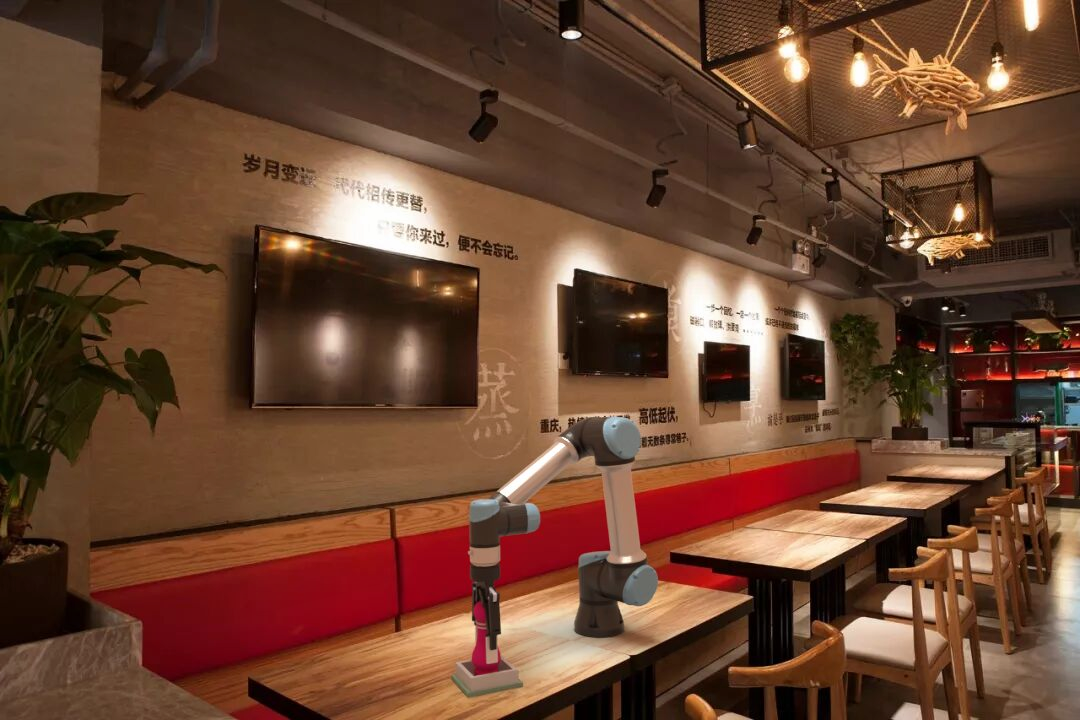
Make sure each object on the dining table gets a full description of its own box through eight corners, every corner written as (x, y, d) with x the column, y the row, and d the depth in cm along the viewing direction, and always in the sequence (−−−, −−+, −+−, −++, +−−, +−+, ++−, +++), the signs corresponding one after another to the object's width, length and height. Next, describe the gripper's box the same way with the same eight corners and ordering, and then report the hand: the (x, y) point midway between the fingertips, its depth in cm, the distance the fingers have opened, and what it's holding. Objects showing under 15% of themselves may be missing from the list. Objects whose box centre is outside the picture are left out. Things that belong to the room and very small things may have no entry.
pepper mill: (496, 683, 168) (495, 598, 169) (468, 681, 169) (466, 597, 171) (504, 672, 175) (502, 590, 176) (476, 670, 176) (475, 589, 178)
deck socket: (503, 669, 181) (503, 653, 181) (523, 686, 169) (522, 669, 169) (451, 678, 175) (451, 662, 175) (467, 697, 163) (467, 679, 163)
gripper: (458, 557, 182) (459, 648, 180) (484, 572, 164) (486, 673, 162) (485, 554, 185) (486, 643, 183) (514, 569, 167) (515, 668, 165)
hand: (486, 657), depth 172 cm, fingers closed on pepper mill, 7 cm apart
